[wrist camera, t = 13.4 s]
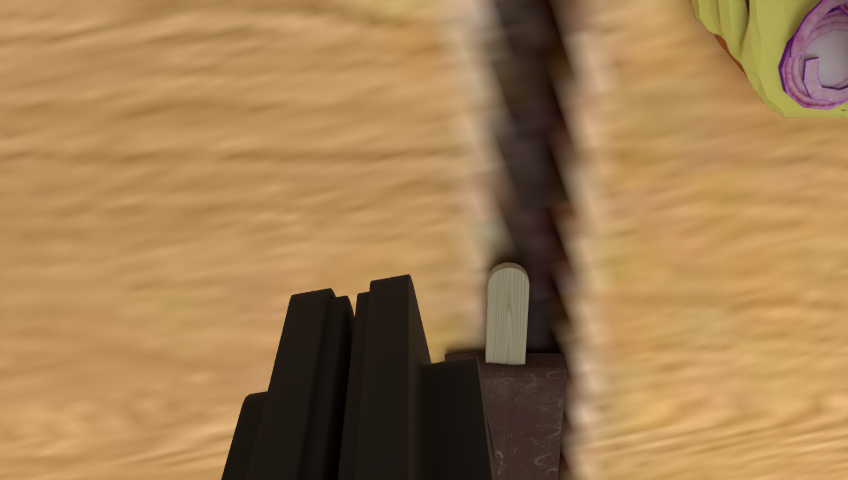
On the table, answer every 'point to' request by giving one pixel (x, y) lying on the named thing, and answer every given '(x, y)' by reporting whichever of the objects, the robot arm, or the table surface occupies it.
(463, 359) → the robot arm
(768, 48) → the cheeseburger
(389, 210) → the table surface
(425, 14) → the table surface
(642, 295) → the table surface
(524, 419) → the ice cream bar
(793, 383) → the table surface
